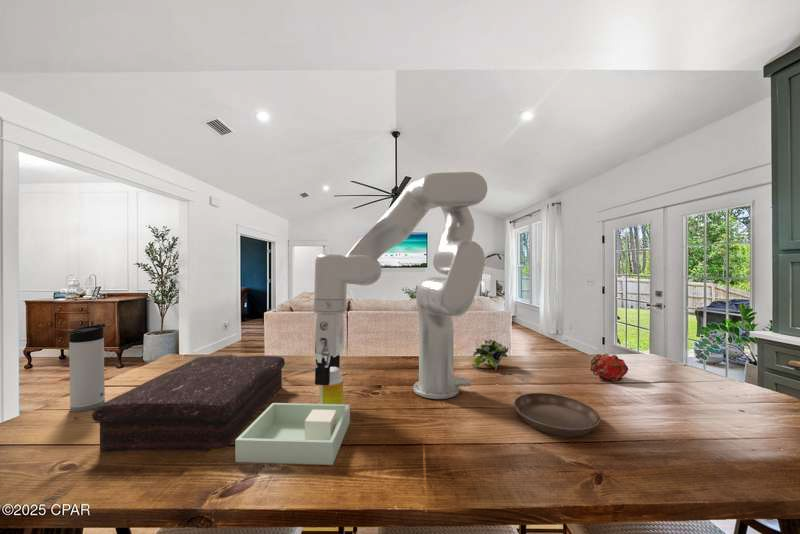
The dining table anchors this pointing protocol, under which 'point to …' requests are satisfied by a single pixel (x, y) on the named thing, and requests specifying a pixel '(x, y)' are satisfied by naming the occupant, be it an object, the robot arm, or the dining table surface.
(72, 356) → the travel mug
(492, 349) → the green leafy plant
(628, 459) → the dining table surface
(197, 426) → the folded brown towel
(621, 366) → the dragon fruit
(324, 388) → the supplement bottle
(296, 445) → the pale green tray
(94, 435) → the dining table surface
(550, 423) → the plant saucer
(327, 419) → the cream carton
